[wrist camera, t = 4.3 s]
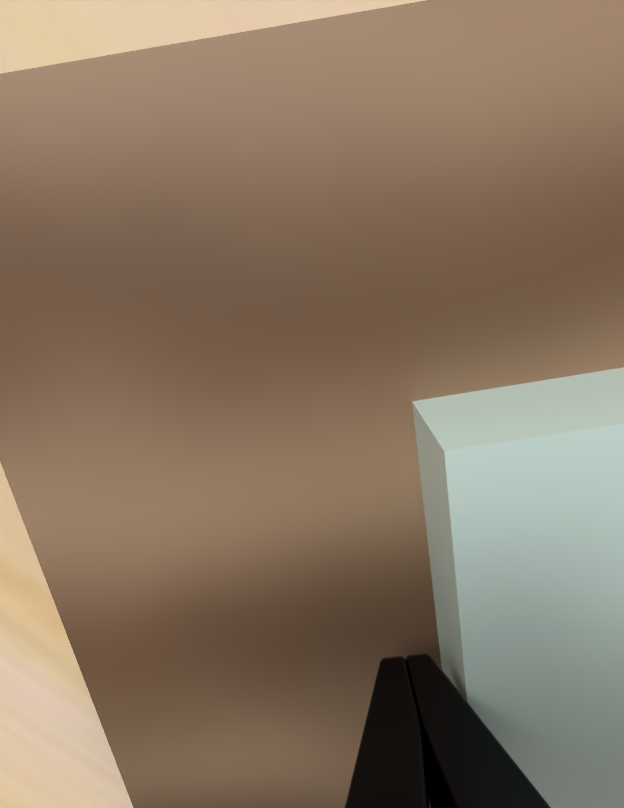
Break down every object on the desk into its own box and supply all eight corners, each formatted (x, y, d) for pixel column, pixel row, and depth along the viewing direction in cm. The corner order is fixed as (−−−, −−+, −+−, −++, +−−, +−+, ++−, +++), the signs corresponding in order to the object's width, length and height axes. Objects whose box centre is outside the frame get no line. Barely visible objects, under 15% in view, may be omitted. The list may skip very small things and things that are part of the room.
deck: (560, 751, 16) (639, 912, 12) (216, 781, 16) (186, 943, 12) (590, 66, 9) (776, -60, 6) (32, 156, 10) (-140, 97, 6)
